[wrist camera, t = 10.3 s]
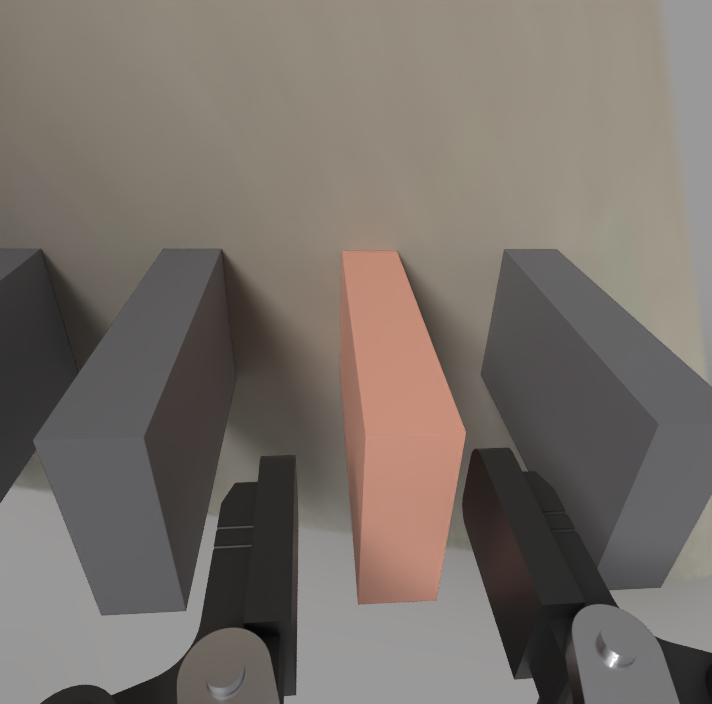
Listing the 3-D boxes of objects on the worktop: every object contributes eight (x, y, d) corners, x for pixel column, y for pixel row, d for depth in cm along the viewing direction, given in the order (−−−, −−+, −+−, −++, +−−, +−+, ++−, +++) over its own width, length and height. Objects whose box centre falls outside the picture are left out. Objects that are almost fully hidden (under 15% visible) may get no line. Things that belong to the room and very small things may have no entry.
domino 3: (186, 379, 19) (101, 615, 11) (163, 248, 16) (32, 440, 9) (236, 378, 19) (185, 611, 11) (221, 248, 16) (143, 437, 9)
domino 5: (480, 374, 20) (587, 591, 12) (504, 249, 17) (659, 424, 9) (527, 373, 20) (660, 587, 12) (557, 249, 17) (751, 422, 10)
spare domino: (340, 378, 19) (358, 604, 12) (341, 251, 17) (366, 435, 9) (388, 377, 20) (436, 600, 12) (397, 251, 17) (466, 432, 9)
